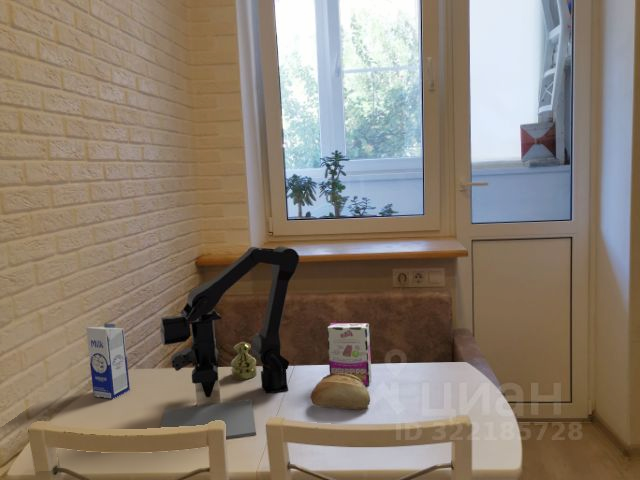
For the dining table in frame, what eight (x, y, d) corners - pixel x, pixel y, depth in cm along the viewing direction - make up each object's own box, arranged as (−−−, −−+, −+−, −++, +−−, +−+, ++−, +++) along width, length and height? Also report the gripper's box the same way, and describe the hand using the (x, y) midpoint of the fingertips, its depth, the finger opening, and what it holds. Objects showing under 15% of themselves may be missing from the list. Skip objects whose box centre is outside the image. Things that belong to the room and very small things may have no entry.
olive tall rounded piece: (261, 371, 158) (259, 339, 157) (250, 381, 151) (247, 347, 150) (239, 369, 161) (237, 338, 159) (227, 379, 154) (224, 346, 153)
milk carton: (93, 396, 146) (85, 326, 143) (111, 387, 152) (104, 319, 149) (113, 399, 143) (105, 328, 141) (130, 389, 149) (123, 321, 147)
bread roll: (314, 397, 139) (312, 368, 138) (371, 398, 136) (370, 368, 135) (308, 414, 129) (306, 383, 128) (369, 415, 127) (368, 383, 126)
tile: (220, 400, 139) (218, 371, 138) (220, 403, 137) (218, 374, 136) (197, 403, 138) (194, 374, 137) (197, 406, 136) (194, 376, 135)
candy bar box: (371, 378, 149) (369, 322, 147) (369, 386, 144) (367, 327, 142) (333, 377, 151) (330, 321, 149) (329, 384, 146) (326, 327, 144)
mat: (251, 401, 138) (251, 399, 138) (256, 434, 120) (256, 432, 120) (164, 412, 134) (164, 410, 134) (156, 448, 116) (156, 445, 116)
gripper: (174, 330, 143) (179, 385, 145) (167, 353, 125) (173, 415, 127) (216, 326, 145) (220, 380, 147) (215, 348, 127) (220, 409, 129)
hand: (208, 395), depth 137 cm, fingers closed on tile, 2 cm apart
